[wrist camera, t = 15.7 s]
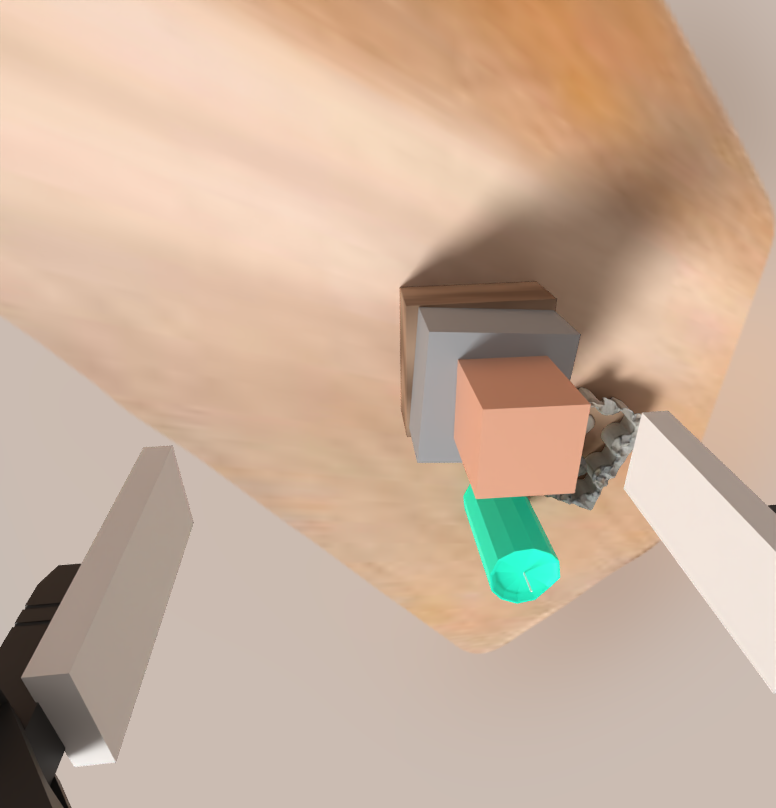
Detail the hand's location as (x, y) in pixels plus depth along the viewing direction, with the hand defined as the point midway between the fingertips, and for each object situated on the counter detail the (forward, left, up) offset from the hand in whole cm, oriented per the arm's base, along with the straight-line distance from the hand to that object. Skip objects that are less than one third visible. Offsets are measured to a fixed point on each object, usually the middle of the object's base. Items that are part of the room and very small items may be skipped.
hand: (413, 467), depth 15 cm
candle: (+25, +12, -29) cm, 40 cm away
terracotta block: (+8, +8, -19) cm, 23 cm away
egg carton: (+18, +19, -30) cm, 40 cm away
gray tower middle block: (+9, +8, -25) cm, 27 cm away
